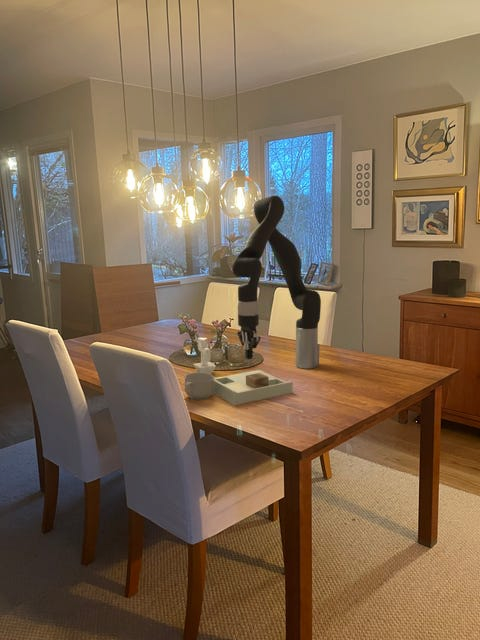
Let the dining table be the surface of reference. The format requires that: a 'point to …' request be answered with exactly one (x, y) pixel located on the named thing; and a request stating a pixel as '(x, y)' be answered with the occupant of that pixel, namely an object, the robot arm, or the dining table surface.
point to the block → (257, 380)
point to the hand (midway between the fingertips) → (249, 358)
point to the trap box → (249, 388)
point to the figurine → (204, 357)
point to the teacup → (199, 385)
